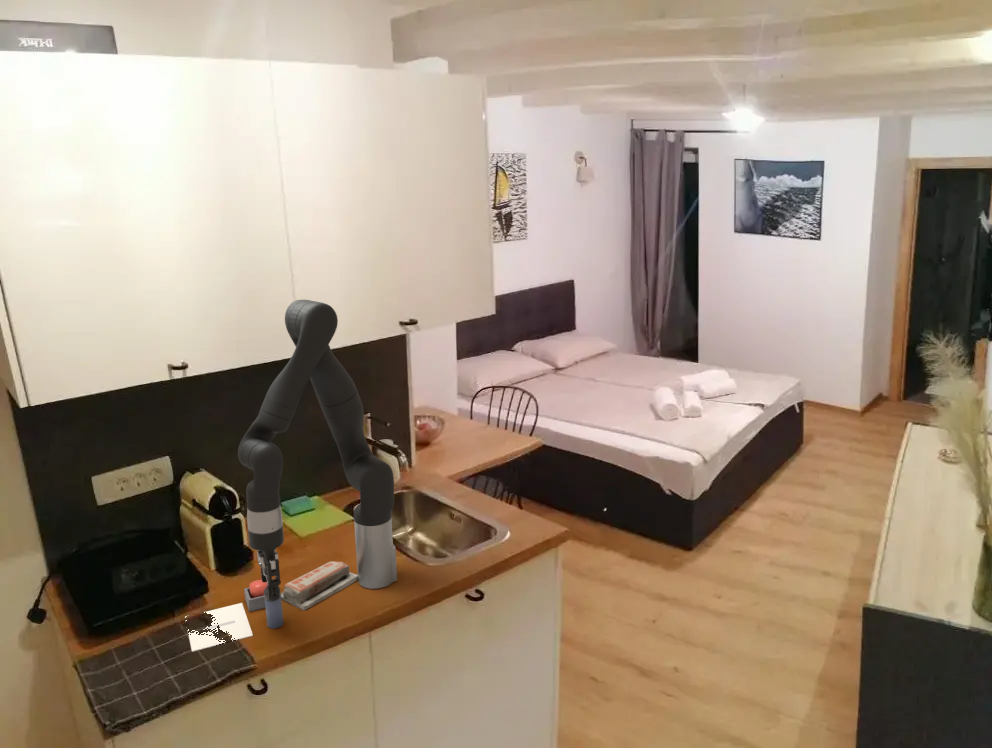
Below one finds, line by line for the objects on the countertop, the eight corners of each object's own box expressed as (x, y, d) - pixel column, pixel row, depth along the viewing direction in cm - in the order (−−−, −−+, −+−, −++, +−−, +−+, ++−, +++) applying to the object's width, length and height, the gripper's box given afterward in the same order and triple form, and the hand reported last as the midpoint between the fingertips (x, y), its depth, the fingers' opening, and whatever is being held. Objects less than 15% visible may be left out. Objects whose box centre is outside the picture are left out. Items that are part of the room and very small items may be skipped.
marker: (281, 618, 184) (278, 583, 182) (284, 625, 181) (281, 591, 179) (266, 622, 183) (262, 587, 180) (269, 630, 180) (265, 595, 177)
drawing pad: (242, 603, 190) (241, 602, 190) (252, 635, 177) (252, 635, 177) (185, 617, 185) (184, 616, 185) (192, 652, 172) (191, 651, 172)
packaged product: (302, 595, 186) (276, 582, 192) (304, 613, 187) (277, 599, 193) (358, 564, 200) (332, 552, 205) (359, 581, 201) (333, 569, 207)
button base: (270, 593, 195) (269, 582, 194) (275, 605, 190) (273, 594, 189) (245, 599, 192) (244, 588, 191) (249, 611, 187) (248, 600, 186)
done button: (266, 589, 193) (265, 578, 192) (269, 597, 189) (268, 585, 189) (249, 593, 191) (248, 582, 190) (252, 601, 188) (251, 590, 187)
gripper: (289, 534, 171) (293, 600, 175) (276, 509, 183) (280, 572, 187) (253, 541, 167) (259, 608, 172) (242, 515, 180) (248, 578, 184)
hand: (270, 589), depth 179 cm, fingers open, 8 cm apart
